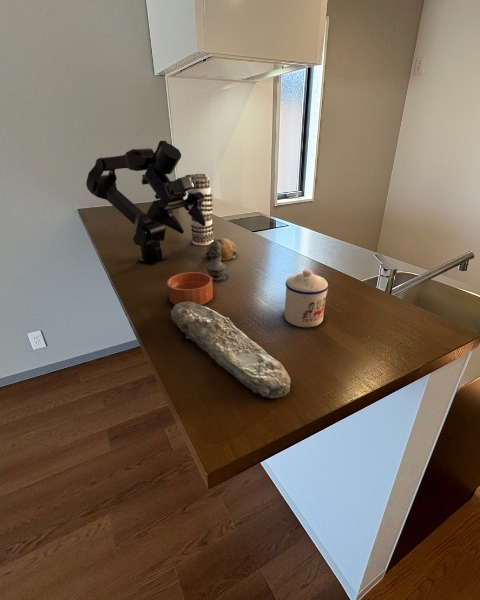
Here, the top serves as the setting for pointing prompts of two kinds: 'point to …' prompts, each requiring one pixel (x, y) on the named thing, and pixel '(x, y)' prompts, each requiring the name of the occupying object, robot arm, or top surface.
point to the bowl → (190, 288)
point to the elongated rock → (232, 349)
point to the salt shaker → (216, 262)
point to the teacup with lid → (305, 299)
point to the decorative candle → (202, 233)
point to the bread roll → (224, 249)
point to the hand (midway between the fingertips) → (194, 228)
